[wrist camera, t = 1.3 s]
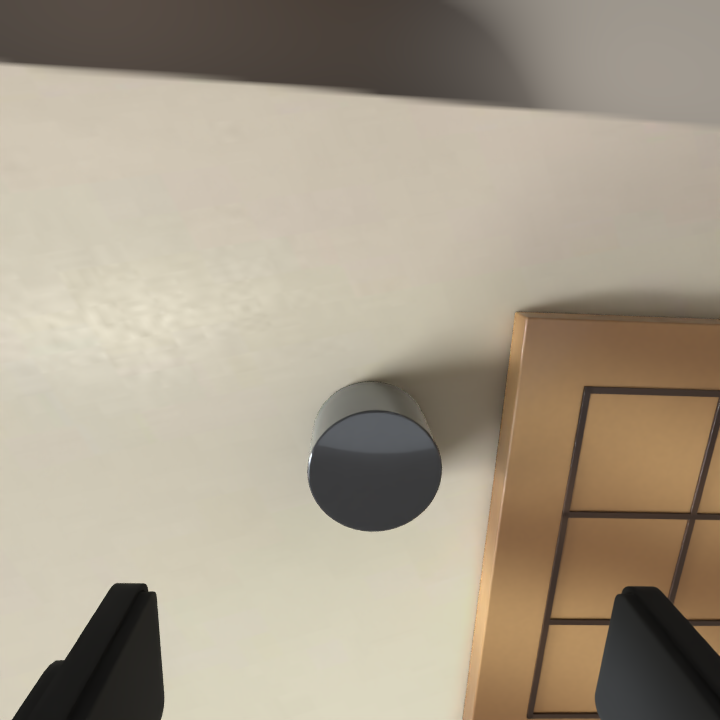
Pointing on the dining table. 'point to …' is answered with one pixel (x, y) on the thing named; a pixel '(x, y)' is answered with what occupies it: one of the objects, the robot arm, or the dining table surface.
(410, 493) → the grey metallic short cylinder
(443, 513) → the dining table surface
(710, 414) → the game board
